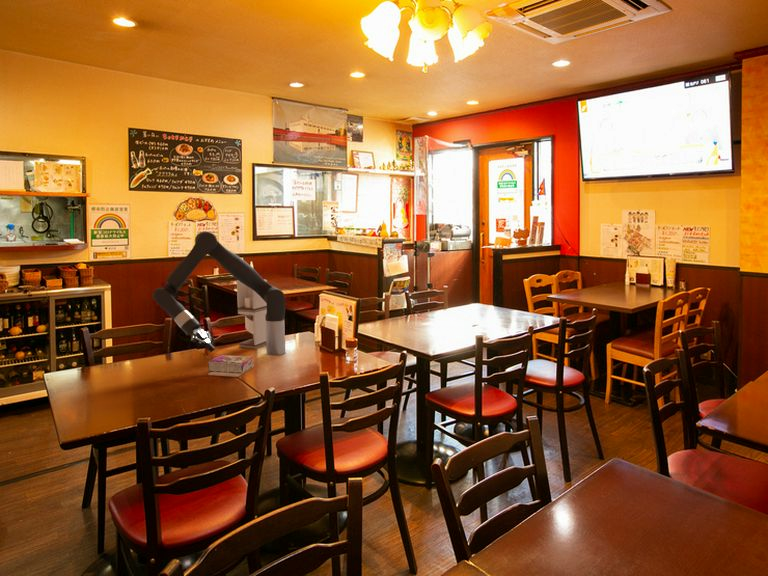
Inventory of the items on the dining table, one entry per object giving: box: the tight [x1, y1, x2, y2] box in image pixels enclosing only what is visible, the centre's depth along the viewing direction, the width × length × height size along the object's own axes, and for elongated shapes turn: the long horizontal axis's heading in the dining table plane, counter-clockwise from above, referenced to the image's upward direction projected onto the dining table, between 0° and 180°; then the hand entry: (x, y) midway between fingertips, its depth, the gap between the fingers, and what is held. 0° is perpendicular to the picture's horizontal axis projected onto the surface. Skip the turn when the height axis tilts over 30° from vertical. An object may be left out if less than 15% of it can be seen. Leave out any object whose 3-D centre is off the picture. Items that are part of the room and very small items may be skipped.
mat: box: [208, 364, 255, 378], centre depth 239 cm, size 16×14×1 cm
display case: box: [236, 279, 268, 350], centre depth 282 cm, size 11×11×35 cm
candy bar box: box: [208, 354, 254, 374], centre depth 239 cm, size 11×5×16 cm
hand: (213, 350), depth 239 cm, fingers closed
